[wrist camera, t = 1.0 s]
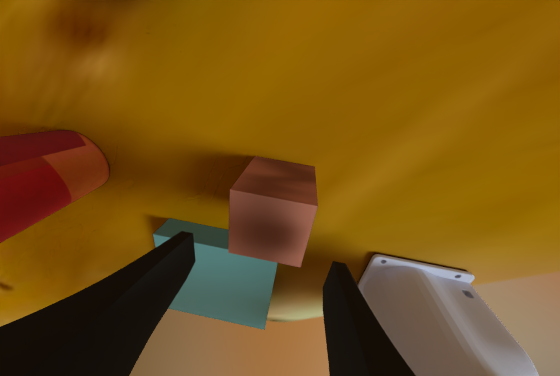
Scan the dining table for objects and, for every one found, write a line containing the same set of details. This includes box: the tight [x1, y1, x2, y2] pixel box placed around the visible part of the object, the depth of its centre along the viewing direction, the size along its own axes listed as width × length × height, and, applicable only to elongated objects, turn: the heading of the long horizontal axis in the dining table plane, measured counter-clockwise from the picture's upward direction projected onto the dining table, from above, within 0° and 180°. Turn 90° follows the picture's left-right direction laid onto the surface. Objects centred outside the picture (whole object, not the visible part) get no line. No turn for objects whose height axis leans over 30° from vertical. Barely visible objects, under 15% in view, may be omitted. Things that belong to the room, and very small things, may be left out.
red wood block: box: [228, 156, 318, 267], centre depth 15 cm, size 5×5×6 cm
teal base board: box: [153, 218, 278, 329], centre depth 22 cm, size 12×12×3 cm
